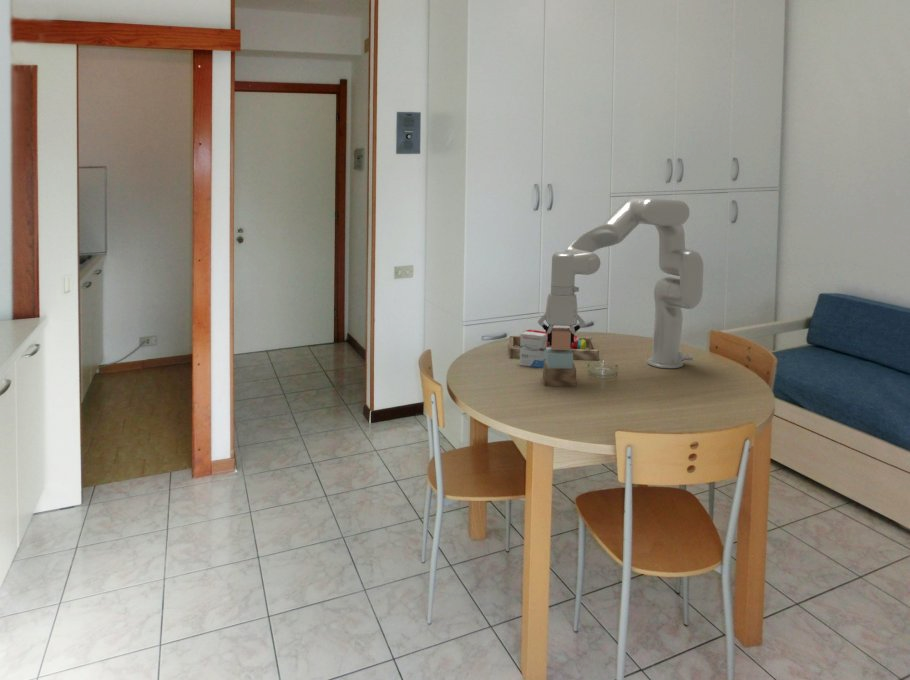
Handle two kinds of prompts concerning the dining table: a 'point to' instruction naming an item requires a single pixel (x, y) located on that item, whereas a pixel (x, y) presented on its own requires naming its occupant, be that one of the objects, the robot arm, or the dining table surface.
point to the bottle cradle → (577, 353)
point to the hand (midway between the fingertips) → (560, 344)
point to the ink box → (532, 349)
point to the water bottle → (576, 345)
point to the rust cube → (561, 339)
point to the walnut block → (559, 376)
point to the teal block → (559, 358)
